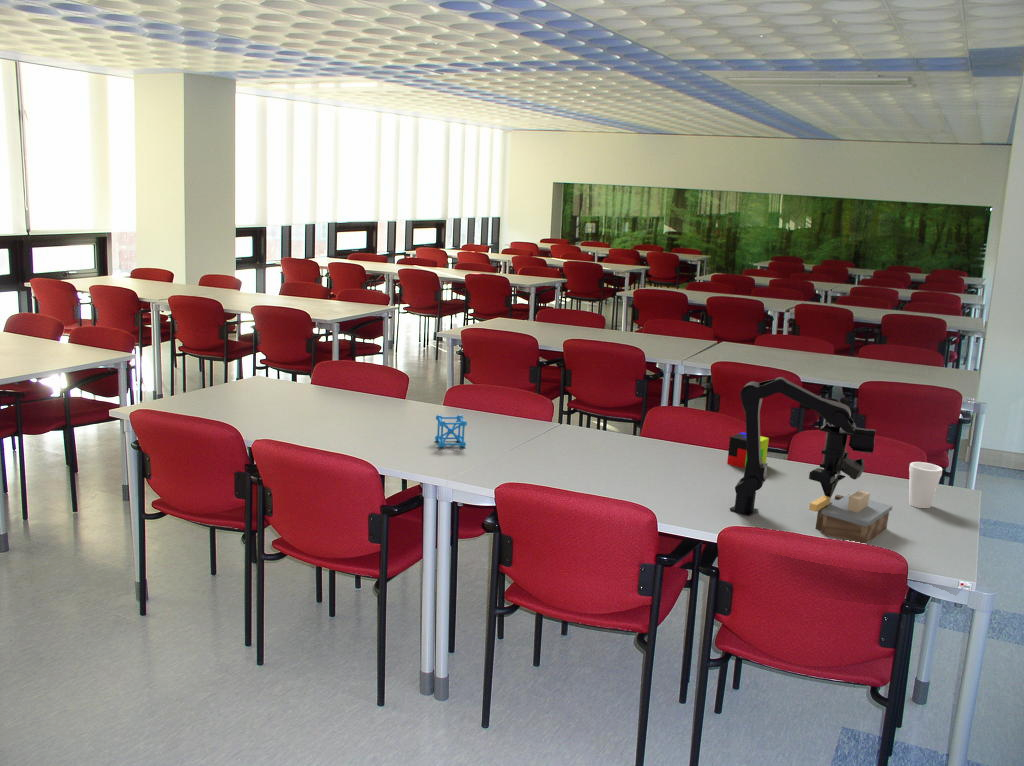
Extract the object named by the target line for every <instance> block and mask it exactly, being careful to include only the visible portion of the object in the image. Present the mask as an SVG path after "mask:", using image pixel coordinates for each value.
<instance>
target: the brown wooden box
mask: <svg viewBox="0 0 1024 766" xmlns="http://www.w3.org/2000/svg"><path fill="white" fill-rule="evenodd" d="M843 497H845V496H844V495H841V494H836V495H835V496H834V499H835V500H840V499H841V498H843ZM826 507H828V505H827V506H825V507H823V508H821V509H820V510H818V511H817V515H816V522H815V523H816V524H815V529H816V530H819V531H821V532H820V534H822V535H825V536H829V537H832V538H835V539H838V540H841V539H842V541H844V540H849V541H855V542H860V543H866V544H868V543H869V542H871V541H872V540H873V539H875V538H876V537H877V536H879V535H880V534H882V533H883V532H884V531H886V530H887V528H888V522H889V516H890V512H888V513H887V514H885V515H884V516H882V517H881V518H879V519H878V520H876V521H875V522H873V523H872V524H870V525H869V526H867V527H866V526H862V525H859V524H855V523H852V522H848V521H845V520H841V519H838V518H834V517H831V516H827V515H824V514H821V513H822V510H823V509H824V508H826Z"/></svg>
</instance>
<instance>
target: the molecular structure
mask: <svg viewBox="0 0 1024 766" xmlns="http://www.w3.org/2000/svg"><path fill="white" fill-rule="evenodd" d="M450 419H451V420H452V419H454V420H456V421H455V422H445V420H450ZM463 419H464V416H463V414H458V415H457V416H442V414H437V415H436V416H435V421H437V430H436V431H437V432H436V433H437V434H436V435H435V436H434V440H435V441H436V442H438V443H437V446H438V448H439V449H440V448H441V449H442V448H444V447H445V446H459V447H461V448H465V447H466V446H467V443H466V441H465V427H466V426H467V424H468V422H467V420H465V419H464V420H463ZM450 425H452V426H451V427H449V426H450ZM444 428H445V429H446V430H447V431H446V432H444ZM461 428H462V429H461ZM455 430H457V433H455ZM461 430H462V431H461ZM450 435H452V436H450ZM446 440H456V441H457V442H456V443H455V442H452V443H451V442H446Z"/></svg>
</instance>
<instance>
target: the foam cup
mask: <svg viewBox="0 0 1024 766" xmlns="http://www.w3.org/2000/svg"><path fill="white" fill-rule="evenodd" d="M908 471H909V479H908V481H909V485H908V486H909V487H908V489H909V490H908V501H909V502H908V504H909V505H910V506H911V505H912V507H913V506H914V508H916V507H917V508H918V509H921V508H929V509H931V508H932V505H933V501H934V498H935V495H936V492H937V489H938V487H939V483H940V479H941V477H942V476H943V468H942V467H941V466H939V465H938V464H937V465H936V464H934V463H930V462H922V461H913V462H910V463H909V468H908ZM930 507H931V508H930ZM917 508H916V509H917Z"/></svg>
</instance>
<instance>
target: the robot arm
mask: <svg viewBox="0 0 1024 766" xmlns="http://www.w3.org/2000/svg"><path fill="white" fill-rule="evenodd" d="M778 393H779V394H782V395H784V396H785V397H787V398H789V399H791V400H794V401H795V402H797V403H799V404H801V405H803V406H805V407H807V408H809V409H810V410H813V411H815V412H816V413H818V415H820V416H821V417H822V418H823V419H824V420H826V423H824V425H821V427H820V429H819V431H820V432H825V433H826V435H825V443H824V444H825V445H824V449H822V450H821V454H822V455H823V458H822V462H821V463H820V464H819V467H816V468H814V469H812V470H811V471H810V472H809V474H808V480H810V481H814V482H818V483H820V485H821V488H822V491H823V494H824V495H825V496H829V497H831V498H832V496H833V494H834V492H835V489H836V487H837V485H838V483H839V482H840V481H842V480H843V479H845V478H846V476H845V475H847V476H849V478H851V479H852V480H857V479H859V478H860V477H861V476H862V474H863V472H864V471H865V470H866V469H865V468H866V466H865V460H864V459H863V458H861V457H859V458H857V459H856V460H855V459H854V458H850V457H849V452H848V451H847V443H848V447H850V449H851V450H852V451H854V452H858V453H859V452H860V453H866V454H873V453H874V449H875V443H876V442H875V441H876V439H875V438H876V431H877V430H876V429H874V428H864V427H863V428H861V427H857V425H856V423H855V421H854V419H853V418H852V417H851V416H852V412H851V411H852V410H851V408H850V407H849V405H847V404H845V403H842V402H839V401H835V400H831V399H827V398H824V397H821V396H820V395H817V394H815V393H813V392H811V391H809V390H808V389H806V388H803V387H801V386H799V385H798V384H795V383H794V382H792V381H790V380H788V379H787V378H785V377H783V376H779V377H776V378H774V379H768V380H764V381H760V382H757V381H749V382H748V383H746V384H745V385H744V386H743V387H742V388H741V390H740V395H739V396H740V400H741V404H742V408H743V411H744V414H745V433H746V442H747V462H746V467H745V468H744V472H743V477H741V478H740V479H739V480H738V482H737V483H736V485H735V487H734V490H735V500H734V506H732V507H730V508H729V511H733V512H735V513H739V514H743V515H745V516H748V517H749V516H751V515H753V514H755V513H757V512H758V511H759V508H756V507H755V502H756V496H757V495H756V494H757V492H756V491H760V489H762V487H763V485H764V483H765V482H766V480H767V478H768V477H769V474H768V462H766V463H764V464H763V462H762V459H761V445H760V436H761V420H760V419H761V407H762V403H763V399H764V398H767V397H769V396H772V395H776V394H778ZM848 437H849V442H848ZM842 473H844V474H845V475H843V474H842Z"/></svg>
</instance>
